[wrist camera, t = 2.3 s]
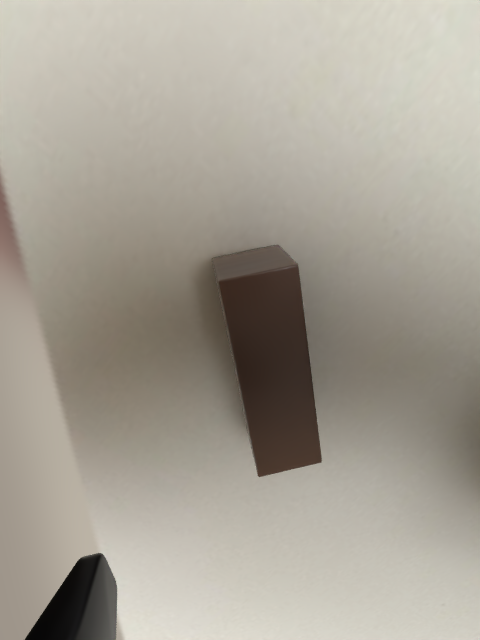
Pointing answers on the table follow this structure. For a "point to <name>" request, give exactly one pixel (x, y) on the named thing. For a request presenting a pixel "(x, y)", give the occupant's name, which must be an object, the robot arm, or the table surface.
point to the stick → (270, 356)
